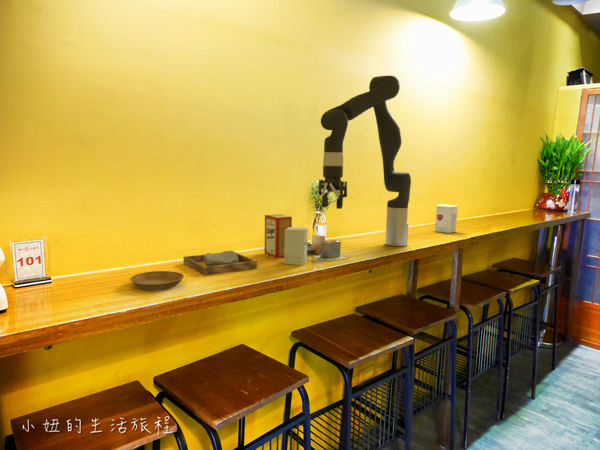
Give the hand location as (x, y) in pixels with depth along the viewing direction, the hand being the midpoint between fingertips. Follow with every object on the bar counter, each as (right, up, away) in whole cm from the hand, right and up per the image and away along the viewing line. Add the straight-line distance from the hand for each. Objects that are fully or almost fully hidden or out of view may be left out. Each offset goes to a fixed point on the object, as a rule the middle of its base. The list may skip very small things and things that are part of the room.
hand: (331, 207), depth 161 cm
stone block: (-40, -21, -11) cm, 47 cm away
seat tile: (0, -19, +3) cm, 20 cm away
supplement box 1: (-14, -21, -7) cm, 26 cm away
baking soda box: (-21, -19, +5) cm, 29 cm away
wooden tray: (-40, -21, -14) cm, 48 cm away
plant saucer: (-54, -25, -38) cm, 70 cm away
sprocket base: (-9, -18, +14) cm, 24 cm away
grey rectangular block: (0, -19, +3) cm, 19 cm away
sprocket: (-9, -18, +14) cm, 24 cm away
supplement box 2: (+69, -11, +74) cm, 102 cm away
